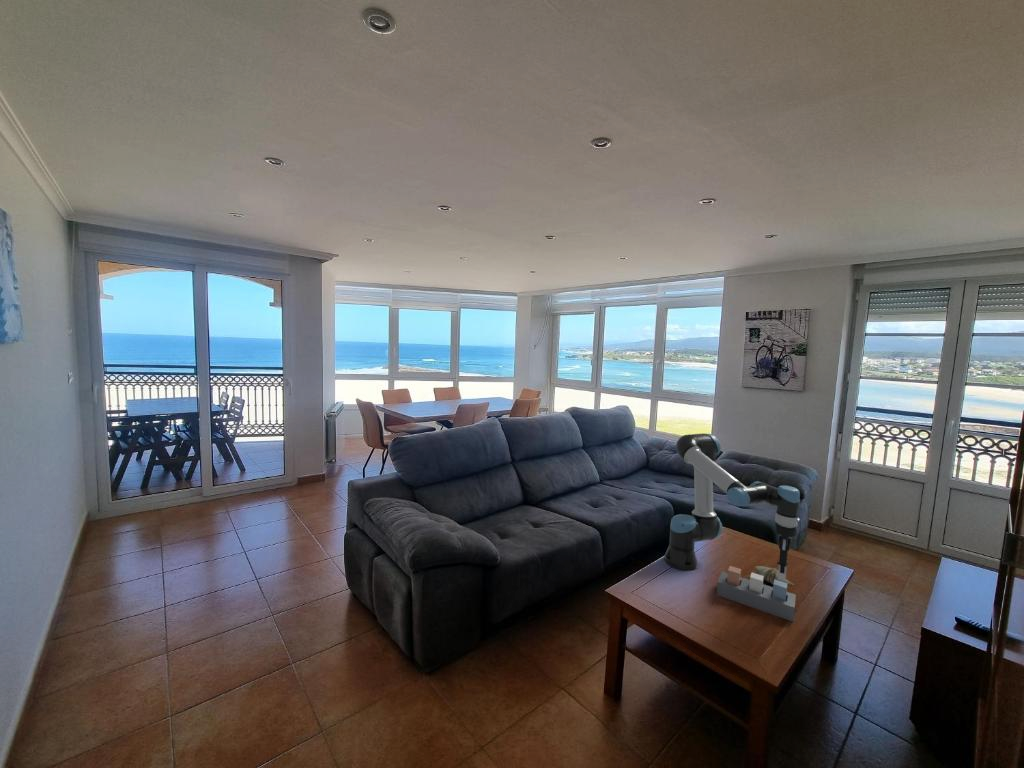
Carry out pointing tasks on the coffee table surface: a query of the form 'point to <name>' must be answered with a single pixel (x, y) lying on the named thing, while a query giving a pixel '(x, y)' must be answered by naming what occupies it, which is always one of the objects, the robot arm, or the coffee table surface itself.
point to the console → (757, 597)
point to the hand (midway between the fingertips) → (781, 579)
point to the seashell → (770, 575)
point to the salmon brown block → (734, 575)
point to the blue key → (779, 590)
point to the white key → (756, 582)
